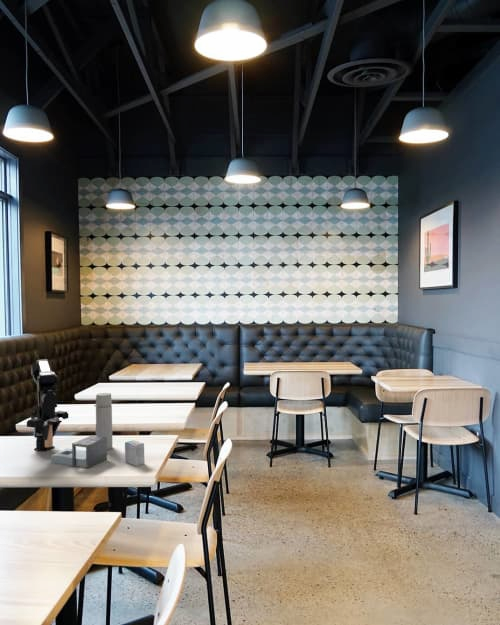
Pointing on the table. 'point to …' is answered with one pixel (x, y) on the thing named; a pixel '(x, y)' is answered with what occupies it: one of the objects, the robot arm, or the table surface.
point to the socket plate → (69, 457)
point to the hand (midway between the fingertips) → (48, 439)
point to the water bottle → (104, 417)
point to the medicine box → (134, 453)
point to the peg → (49, 437)
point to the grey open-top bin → (91, 450)
